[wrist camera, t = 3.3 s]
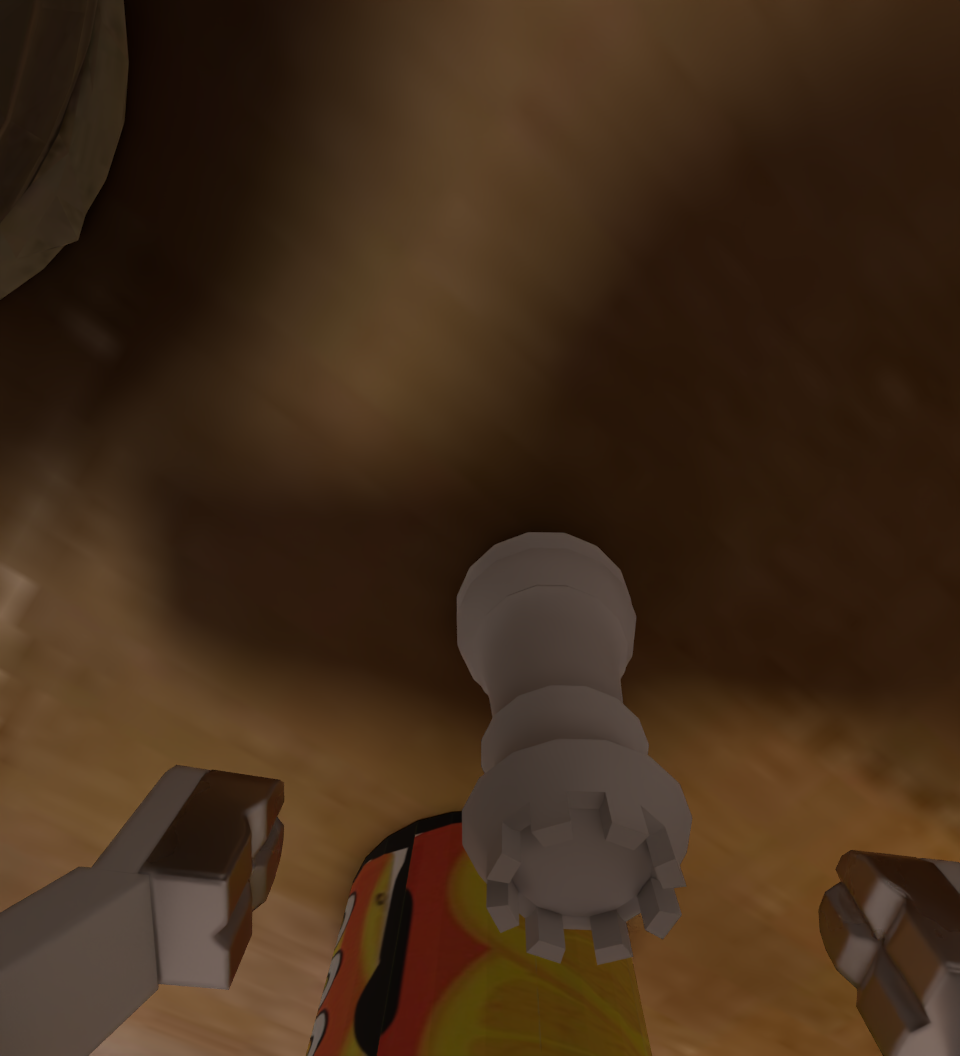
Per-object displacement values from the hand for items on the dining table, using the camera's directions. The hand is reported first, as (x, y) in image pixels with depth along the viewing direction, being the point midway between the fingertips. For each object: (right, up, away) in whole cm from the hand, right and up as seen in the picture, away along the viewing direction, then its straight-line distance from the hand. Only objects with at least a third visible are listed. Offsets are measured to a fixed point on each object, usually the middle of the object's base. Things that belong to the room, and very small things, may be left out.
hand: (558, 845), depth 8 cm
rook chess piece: (0, +3, +7) cm, 7 cm away
